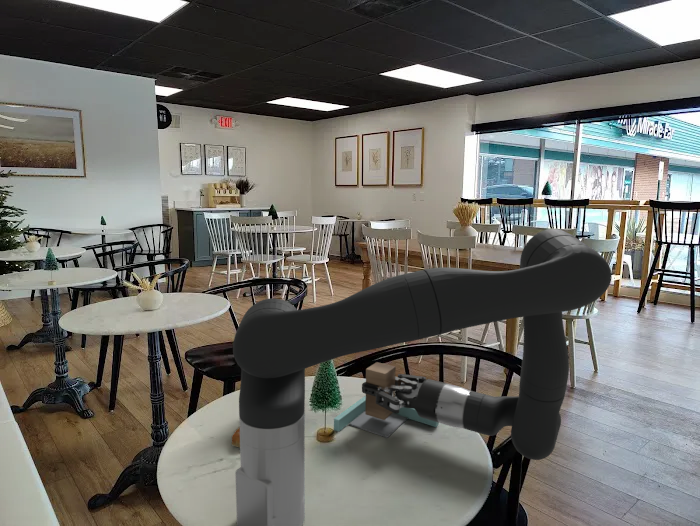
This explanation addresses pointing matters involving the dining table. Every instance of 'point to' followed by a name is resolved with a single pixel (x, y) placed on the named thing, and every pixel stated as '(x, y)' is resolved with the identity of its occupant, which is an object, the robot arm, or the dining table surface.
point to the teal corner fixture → (376, 419)
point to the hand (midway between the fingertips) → (369, 382)
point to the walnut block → (381, 377)
